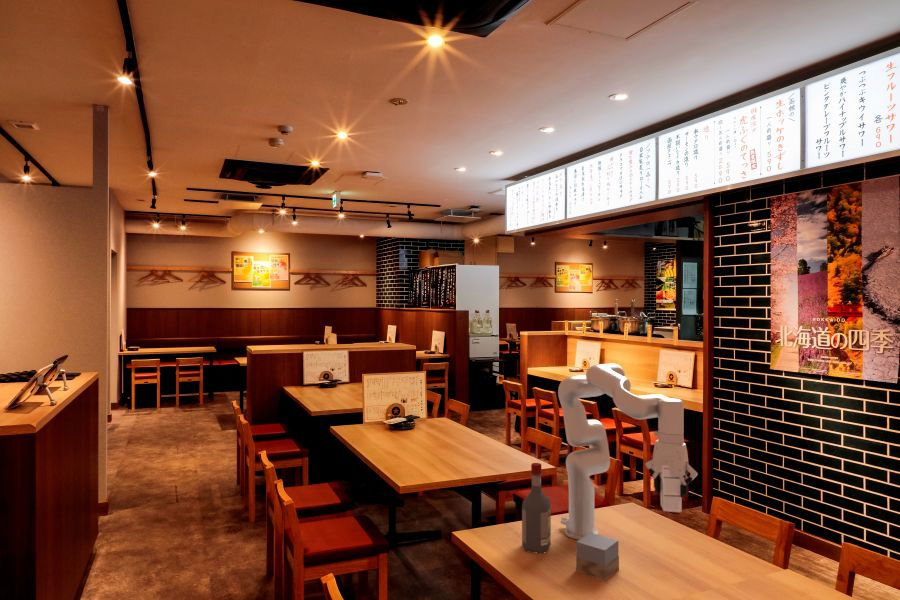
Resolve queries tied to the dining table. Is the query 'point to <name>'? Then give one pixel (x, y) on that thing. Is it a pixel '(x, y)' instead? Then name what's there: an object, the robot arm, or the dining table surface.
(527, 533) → the liquor
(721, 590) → the dining table surface
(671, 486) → the syrup box
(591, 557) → the grey square block
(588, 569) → the walnut block
